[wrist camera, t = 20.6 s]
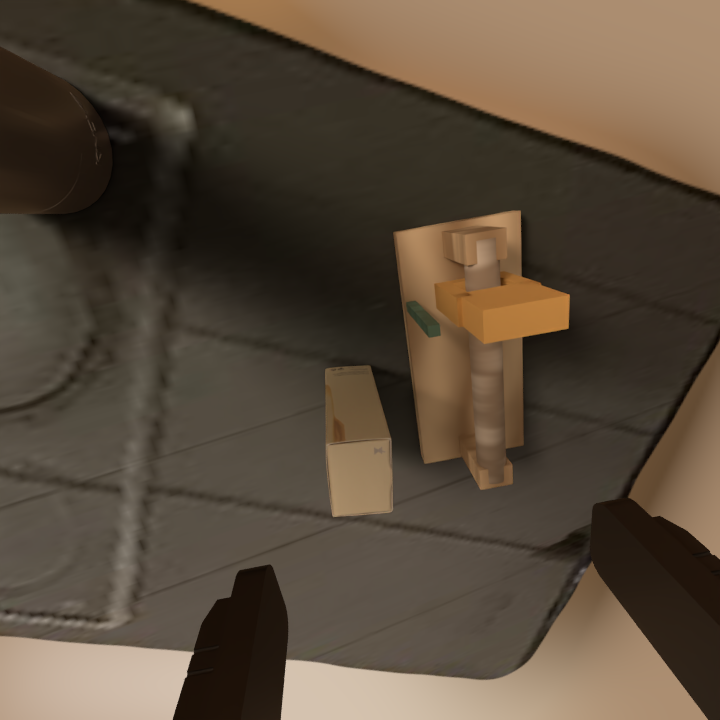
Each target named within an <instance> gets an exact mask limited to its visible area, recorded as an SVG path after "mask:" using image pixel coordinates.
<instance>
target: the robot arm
mask: <svg viewBox="0 0 720 720" xmlns="http://www.w3.org/2000/svg"><path fill="white" fill-rule="evenodd" d="M112 165H113V160H112V148H111V144H110V140H109V136H108V133H107V131H106V128H105V126H104V124H103V122H102V119H101V118H100V116H99V115H98V113H97V112H96V110H95V109H94V107H93V106H92V104H91V103H90V102H89V101H88V100H87V99H86V98H85V97H84V96H83V95H82V94H81V93H80V91H78V90H77V89H76V88H74V87H73V86H72V85H70V84H69V83H68V82H66V81H65V80H63V79H61V78H59V77H57V76H55V75H53V74H52V73H50V72H48V71H46V70H44V69H42V68H40V67H38V66H36V65H34V64H32V63H30V62H29V61H27V60H25V59H23V58H21V57H19V56H17V55H16V54H14V53H12V52H10V51H8V50H6V49H4V48H2V47H0V214H67V213H73V212H78V211H80V210H83V209H85V208H87V207H89V206H90V205H92V204H93V203H94V202H96V201H97V200H98V199H99V198H100V196H101V195H102V194H103V192H104V191H105V190H106V187H107V185H108V183H109V180H110V178H111V172H112ZM590 554H591V558H592V561H593V564H594V566H595V568H596V570H597V572H598V574H599V575H600V577H601V578H602V579H603V581H604V582H605V583H606V585H607V586H608V587H609V589H610V590H611V591H612V593H613V594H614V595H615V597H616V598H617V599H618V601H619V602H620V603H621V605H622V606H623V607H624V609H625V610H626V611H627V612H628V614H629V615H630V617H631V618H632V619H633V620H634V622H635V623H636V625H637V626H638V627H639V628H640V630H641V631H642V632H643V634H644V635H645V636H646V638H647V639H648V640H649V642H650V643H651V644H652V646H653V647H654V648H655V650H656V651H657V652H658V654H659V655H660V656H661V658H662V659H663V660H664V661H665V663H666V664H667V666H668V667H669V668H670V669H671V671H672V672H673V674H674V675H675V676H676V677H677V679H678V680H679V681H680V683H681V684H682V685H683V687H684V688H685V689H686V690H687V692H688V693H689V695H690V696H691V697H692V698H693V700H694V701H695V703H696V704H697V705H698V707H699V708H700V709H701V711H702V712H703V713H704V714H705V716H706V717H707V719H708V720H720V559H718V558H717V557H716V556H715V555H712V554H711V553H710V551H709V550H708V549H707V548H706V547H705V546H704V545H703V544H701V543H700V542H699V541H698V540H697V539H696V538H695V537H694V536H692V535H691V534H690V533H689V532H688V531H686V530H685V529H683V528H681V527H679V526H677V525H675V524H673V523H672V522H670V521H668V520H666V519H664V518H663V517H660V516H657V517H651V516H650V515H649V514H648V513H647V512H646V511H645V510H644V509H643V508H641V507H640V506H639V505H638V504H637V503H636V502H635V501H633V500H632V499H630V498H621V499H616V500H611V501H605V502H600V503H596V504H595V505H594V506H593V510H592V524H591V539H590ZM287 643H288V616H287V610H286V606H285V603H284V600H283V597H282V594H281V591H280V588H279V585H278V582H277V579H276V576H275V573H274V570H273V567H272V566H271V565H265V566H259V567H254V568H249V569H244V570H240V571H239V572H238V573H237V575H236V579H235V582H234V587H233V591H232V595H231V597H229V598H224V599H219V600H217V601H216V603H215V604H214V606H213V607H212V609H211V610H210V612H209V613H208V615H207V616H206V618H205V619H204V621H203V622H202V625H201V628H200V631H199V634H198V638H197V641H196V644H195V648H194V655H192V658H191V661H190V664H189V668H188V671H187V678H185V681H184V684H183V687H182V690H181V694H180V697H179V701H178V704H177V707H176V710H175V714H174V717H173V720H281V709H282V697H283V687H284V675H285V665H286V654H287Z"/></svg>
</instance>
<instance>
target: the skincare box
mask: <svg viewBox="0 0 720 720" xmlns="http://www.w3.org/2000/svg"><path fill="white" fill-rule="evenodd" d="M325 390H326V466H327V477H328V486H329V494H330V502H331V508H332V515H333V516H334V517H338V516H352V515H365V514H378V513H390V512H391V511H392V510H393V480H392V448H391V436H390V433H389V429H388V426H387V422H386V418H385V415H384V412H383V408H382V405H381V401H380V398H379V394H378V391H377V387H376V384H375V380H374V377H373V373H372V370H371V366H370V365H365V366H346V367H335V368H327V369H326V370H325Z"/></svg>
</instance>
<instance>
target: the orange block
mask: <svg viewBox="0 0 720 720" xmlns="http://www.w3.org/2000/svg"><path fill="white" fill-rule="evenodd" d="M500 282H501V286H498V287H492V288H487V289H481V290H476V291H470V292H467V291H466V287H465V278H463V279H457V280H452V281H446V282H441V283H435V284H434V287H435V298H436V308H437V309H438V310H439V311H440V312H441V313H442V314H444V315H445V316H446V317H447V318H448V319H449V320H451V321H452V322H453V323H454V324H455V325H456V326H458V327H464V328H465V329H467V330H468V331H469V332H470V333H471V334H473V335H474V336H475V337H476V338H477V339H479V340H480V341H481V342H482V343H483V344H487V343H493V342H498V341H504V340H509V339H515V338H520V337H526V336H531V335H537V334H542V333H548V332H553V331H558V330H564V329H569V300H570V295H569V294H566V293H563V292H560V291H557V290H554V289H551V288H548V287H545V286H542V285H541V283H540V282H536V281H533V280H530V279H527V278H524V277H521V276H518V275H515V274H512V273H509V272H505V271H502V272H500Z"/></svg>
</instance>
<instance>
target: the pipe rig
mask: <svg viewBox="0 0 720 720" xmlns="http://www.w3.org/2000/svg"><path fill="white" fill-rule="evenodd" d="M393 235H394V243H395V251H396V259H397V267H398V275H399V283H400V291H401V299H402V307H403V315H404V322H405V330H406V338H407V346H408V354H409V362H410V370H411V378H412V386H413V394H414V402H415V410H416V418H417V426H418V434H419V441H420V449H421V456H422V458H423V461H424V463H425V464H427V463H432V462H438V461H443V460H448V459H454V458H459V457H463V459H464V461H465V463H466V465H467V466H468V468H469V470H470V472H471V473H472V475H473V477H474V479H475V481H476V482H477V484H478V486H479V488H480V490H484V489H489V488H494V487H499V486H505V485H510V484H513V469H512V463H511V462H510V461H509V459H508V458H507V457H506V449H507V448H512V447H517V446H523V445H524V437H523V354H522V337H520V338H515V339H509V340H504V341H498V342H493V343H487V344H483V343H482V342H481V341H480V340H479V339H477V338H476V337H475V336H474V335H473V334H471V333H470V332H469V331H468V330H467V329H465V328H464V327H458V326H456V325H455V324H454V323H453V322H452V321H451V320H449V319H448V318H447V317H446V316H445V315H444V314H442V313H441V312H440V311H439V310H438V309H437V308H436V298H435V287H434V284H435V283H441V282H446V281H452V280H457V279H463V278H465V287H466V291H467V292H470V291H476V290H481V289H487V288H492V287H498V286H501V282H500V272H502V271H505V272H509V273H512V274H515V275H518V276H521V277H522V270H521V211H509V212H503V213H498V214H492V215H486V216H481V217H475V218H469V219H464V220H458V221H452V222H447V223H441V224H435V225H430V226H424V227H418V228H413V229H407V230H401V231H396V232H393Z"/></svg>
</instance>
